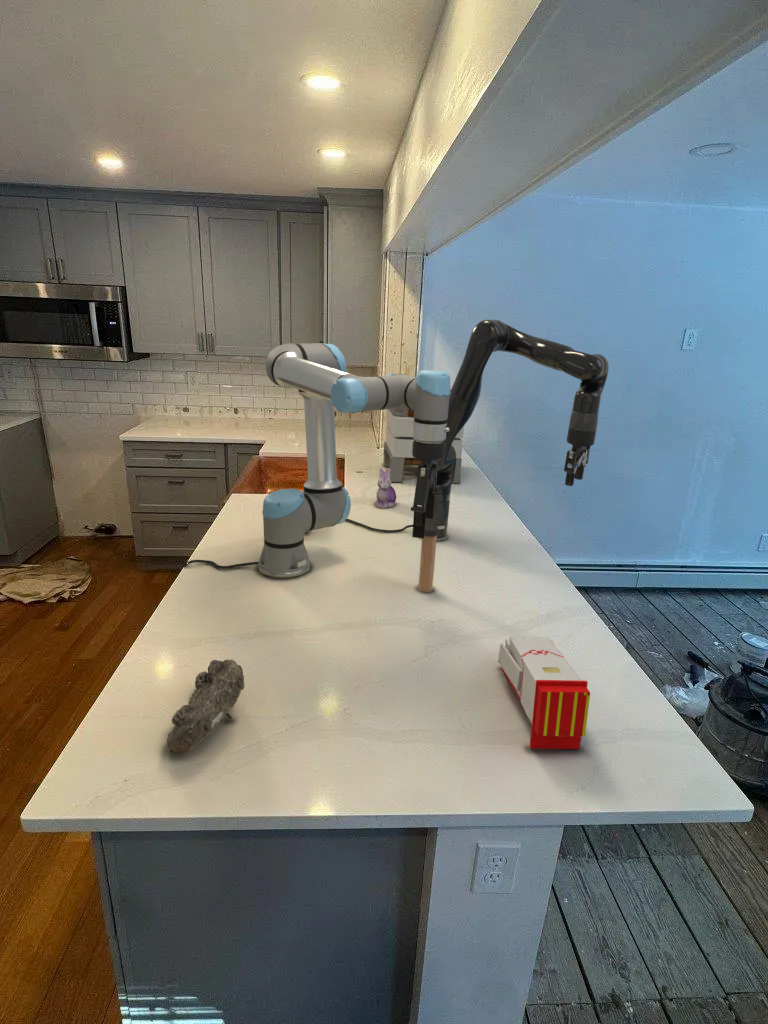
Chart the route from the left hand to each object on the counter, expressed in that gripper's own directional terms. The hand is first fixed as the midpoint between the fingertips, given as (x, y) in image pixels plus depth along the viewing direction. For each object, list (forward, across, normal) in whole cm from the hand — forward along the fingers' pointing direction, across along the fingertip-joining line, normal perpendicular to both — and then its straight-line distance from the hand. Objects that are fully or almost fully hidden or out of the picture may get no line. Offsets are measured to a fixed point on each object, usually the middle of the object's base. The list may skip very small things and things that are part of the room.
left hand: (423, 527), depth 137 cm
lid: (+7, +18, +1) cm, 19 cm away
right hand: (-4, +41, -37) cm, 56 cm away
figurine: (+25, +85, +28) cm, 93 cm away
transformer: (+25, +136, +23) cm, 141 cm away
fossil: (+26, -47, +31) cm, 62 cm away
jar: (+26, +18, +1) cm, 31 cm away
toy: (+26, -25, -29) cm, 46 cm away
